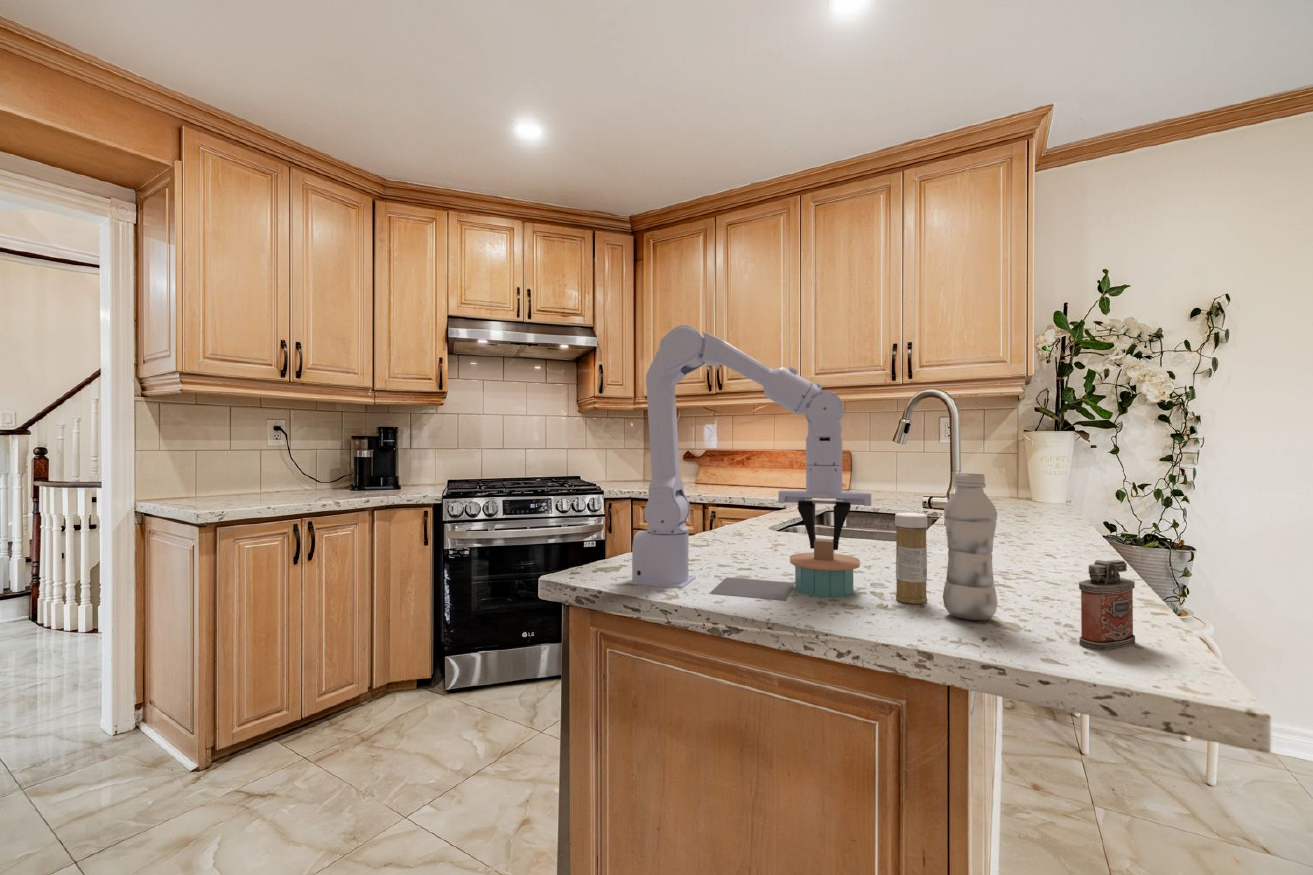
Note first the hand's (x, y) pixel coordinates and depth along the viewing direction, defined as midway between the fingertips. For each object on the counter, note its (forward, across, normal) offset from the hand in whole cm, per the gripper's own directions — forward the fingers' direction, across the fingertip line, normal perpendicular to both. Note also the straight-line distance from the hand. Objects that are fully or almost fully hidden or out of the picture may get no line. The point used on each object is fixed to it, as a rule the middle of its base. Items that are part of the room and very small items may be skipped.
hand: (824, 548), depth 95 cm
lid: (+2, 0, 0) cm, 3 cm away
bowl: (+7, 0, 0) cm, 7 cm away
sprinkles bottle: (+7, +13, -1) cm, 15 cm away
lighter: (+7, +34, -14) cm, 37 cm away
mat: (+7, -11, -3) cm, 13 cm away
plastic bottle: (+7, +20, -8) cm, 23 cm away
